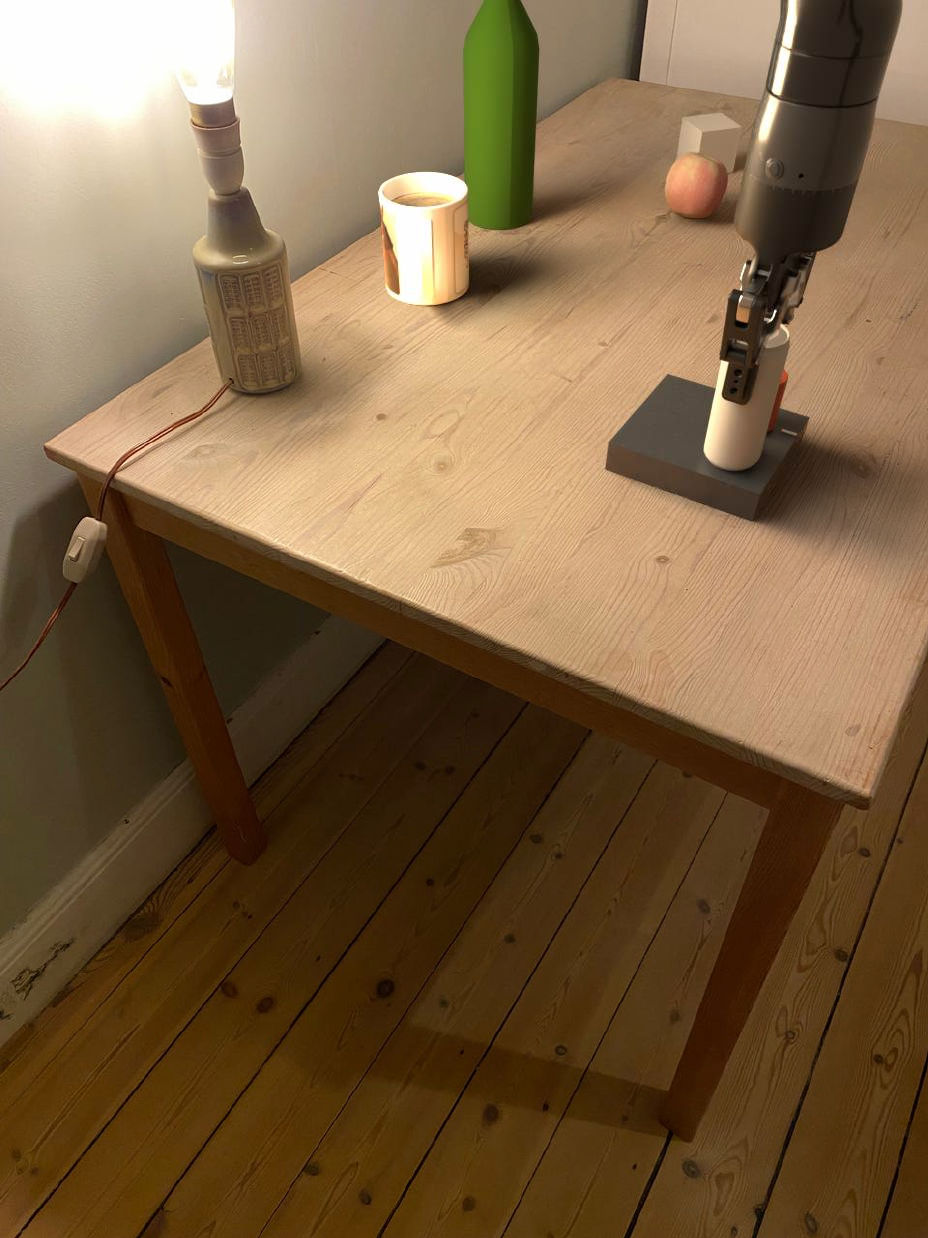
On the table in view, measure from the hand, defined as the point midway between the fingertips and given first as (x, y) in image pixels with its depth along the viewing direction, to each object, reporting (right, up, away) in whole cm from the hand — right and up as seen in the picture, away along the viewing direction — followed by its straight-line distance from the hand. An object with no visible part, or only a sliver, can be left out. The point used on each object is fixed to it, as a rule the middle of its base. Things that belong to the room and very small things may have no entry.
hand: (748, 381), depth 74 cm
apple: (+7, +33, +45) cm, 57 cm away
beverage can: (0, -5, +6) cm, 8 cm away
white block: (+11, +46, +57) cm, 74 cm away
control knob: (+3, -1, +9) cm, 10 cm away
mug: (-28, +19, +33) cm, 47 cm away
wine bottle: (-19, +34, +47) cm, 61 cm away
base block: (-1, -4, +11) cm, 11 cm away
